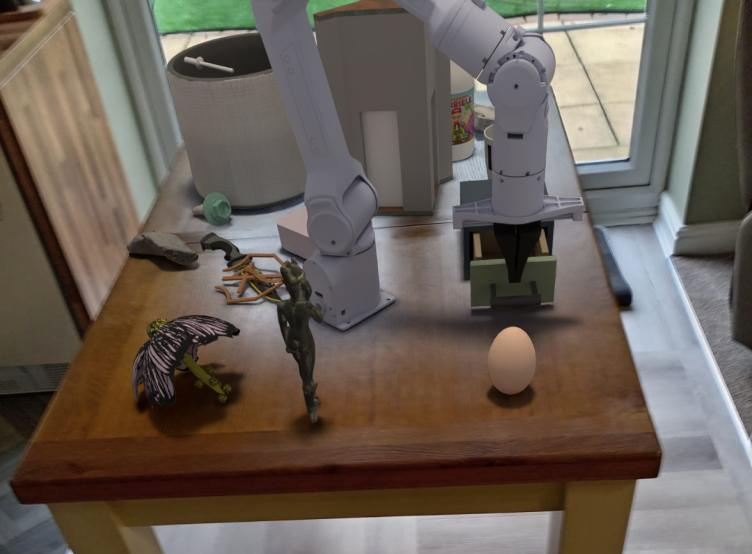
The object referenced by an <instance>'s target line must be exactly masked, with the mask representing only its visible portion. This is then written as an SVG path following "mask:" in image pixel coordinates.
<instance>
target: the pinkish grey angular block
mask: <svg viewBox="0 0 752 554" xmlns="http://www.w3.org/2000/svg"><path fill="white" fill-rule="evenodd" d="M307 218H308V214H307V209H306V206H305V205H303V206H301V207H299V208H297V209H295V210H293V211H291V212H289V213H287V214H285V215H282V216H281V217H279V218H278V219H277V220H276V227H277V231H278V236H279V240H280V241H279V242H280V245H281V247H282V248H283V250H285V251H287V252H290V253H292V254H294V255H296V256H299V257H301V258H303V259H304V260H307V259H308V258H310V257H311V256H312V255H313V254H314V252H315V251H316V249H317V247H316V246H315V245H314V244H313V243H312V241H311V240H310V238H309V235H308V232H307Z"/></svg>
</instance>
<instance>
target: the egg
mask: <svg viewBox="0 0 752 554" xmlns="http://www.w3.org/2000/svg"><path fill="white" fill-rule="evenodd" d="M486 366H487V373H488V377H489V379H490V382H491V383H492V385H493V387H495V388H496V390H498V391H499V392H501V393H503V394H505V395H516V394H519V393H521V392H522V391H524V390H525V389H526V388H527V387H528V386H529V384H530V383H531V382H532V380H533V378H534V375H535V373H536V367H537V355H536V350H535V346H534V344H533V342H532V339H531V338H530V336H529V335H528V334H527V332H526V331H525V330H523V329H522V328H520V327H517V326H508V327H506V328H504V329H502V330H501V331H500V332H499V333H498V334H497V335H496V337H495V338H494V339H493V341H492V343H491V346H490V348H489V351H488V355H487V365H486Z"/></svg>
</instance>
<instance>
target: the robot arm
mask: <svg viewBox="0 0 752 554" xmlns="http://www.w3.org/2000/svg"><path fill="white" fill-rule="evenodd" d="M392 1H394V2H395V3H397V4H398V5H400V6H401V7H403V8H404V9H405V10H407V11H408V12H410V13H411V14H413V15H414V16H416V17H417V18H418V19H420V20H421V21H423V22H424V23H425V24H426V25H427V29H428V33H429V38H430V42H431V45H432V46H434V47H435V48H436V49H438V50H439V51H440V52H441V53H443V54H444V55H445V56H447V57H448V58H449V59H450V60H452V61H453V62H454V63H456V64H457V65H458V66H459V67H461V68H462V69H463V70H465V71H466V72H467V73H468V74H470V75H471V76H472V77H473V79H474V80H476V81H477V82H478V83H480V84H482V85H485V86H486V93H487V97H488V99H489V102H490V103H491V106H492V107H493V108H495V116H494V124H493V164H492V166H493V167H492V198H490V199H486V200H482V201H478V202H473V203H469V204H464V205H460V204H458V205H452V229H453V230H461V229H462V228H463V226H471V225H486V224H493V230H494V236H495V239H496V241H497V244H498V245H499V247H500V249H501V251H502V254H503V256H504V259H505V262H506V265H507V269H508V279H509V283H520V282H521V278H522V274H523V270H524V267H525V265H526V262H527V260H528V258H529V255H530V253H531V252H532V250H533V248H534V246H535V245H536V243H537V242H538V241H539V239H540V236H541V233H542V228H541V221H546V220H554V221H559V220H560V221H561V220H572V222H583V220H584V219H583V218H584V209H585V203H584V200H583V197H582V196H558V195H556V196H555V195H549V194H548V195H544V183H545V184H546V167H547V166H546V164H547V151H548V135H549V117H548V114H549V109H550V105H549V95H550V94H549V93H548V92H547V91H548V89H549V87H550V85H551V83H552V81H553V79H554V77H555V73H556V66H557V61H556V54H555V51H554V50H553V48H552V46H551V44H550V43H548V41H546V39H545V36H543V34H540V33H538V32H529V31H528V32H527V31H526V29H525V28H524V27H523V26H522V25H520V24H517V26H514V25H512V23H510V22H509V21H507V20H506V19H505V18H504V17H503V16H502V15H500V14H499V13H498V12H497V11H495V10H493V8H491V7H490V6H489V5H488V4H486V2H487V0H392ZM309 2H310V0H250V5H251V9H252V13H253V17H254V20H255V22H256V25H257V29H258V32H260V34H261V37H262V40H263V43H264V46H265V49H266V52H267V55H268V58H269V61H270V64H271V67H272V70H273V73H274V76H275V79H276V82H277V85H278V88H279V91H280V94H281V97H282V100H283V103H284V105H285V108H286V111H287V114H288V117H289V120H290V123H291V126H292V129H293V132H294V135H295V138H296V141H297V144H298V147H299V150H300V153H301V156H302V159H303V162H304V165H305V168H306V171H307V181H306V187H305V194H304V195H303V203H304V206H306V209H307V214H308V218H307V232H308V235H309V238H310V240H311V241H312V243H313V244H314V245H315V246H316V247H317V249H316V251H315V252H314V254H313V255H312V256H311V257H310V258H308V259H305V261H304V262H303V264H302V268H301V269H303V270H304V272H305V278H306V279H307V281H308V282H309V283H310V285H311V288H312V294H311V297H310V299H309V301H310V302H311V303H312V304H313V305H314V306H315V307H316V308H317V309H319V311H320V312H321V314H322V315H323V322H325V323H327V324H328V325H331V326H332V327H334V328H336V329H338V330H340V331H346V330H348V329H350V328H351V327H353V326H355V325H356V324H358V323H360V322H361V321H363V320H365V319H367V318H368V317H370V316H372V315H373V314H375V313H377V312H379V311H380V310H382V309H384V308H386V307H387V306H389V305H391V304H392V303H394V302H395V301H396V297H395V296H393V295H391V294H390V293H387V292H385V291H383V290H381V283H380V275H379V273H380V272H379V265H378V253H377V243H376V234H375V230H374V228H373V218H374V217H375V216H376V215H375V214H376V213H377V211H378V207H379V197H378V194H377V191H376V189H375V188H374V186H373V185H372V184H371V182H370V181H369V180H368V179H367V177H366V175H365V173H364V171H363V167H362V164H361V163H360V162H359V161H357V160H356V159H354V158H353V157H351V156H350V155H349V151H348V148H347V145H346V141H345V138H344V134H343V131H342V128H341V124H340V121H339V118H338V114H337V111H336V108H335V104H334V101H333V98H332V94H331V91H330V88H329V84H328V81H327V78H326V74H325V71H324V68H323V64H322V61H321V58H320V54H319V51H318V48H317V41H316V37H315V34H314V31H313V28H312V25H311V21H310V17H309V13H308V11H307V7H308V4H309ZM515 224H516V227H515ZM515 229H516V232H515ZM515 249H516V251H515Z"/></svg>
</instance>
